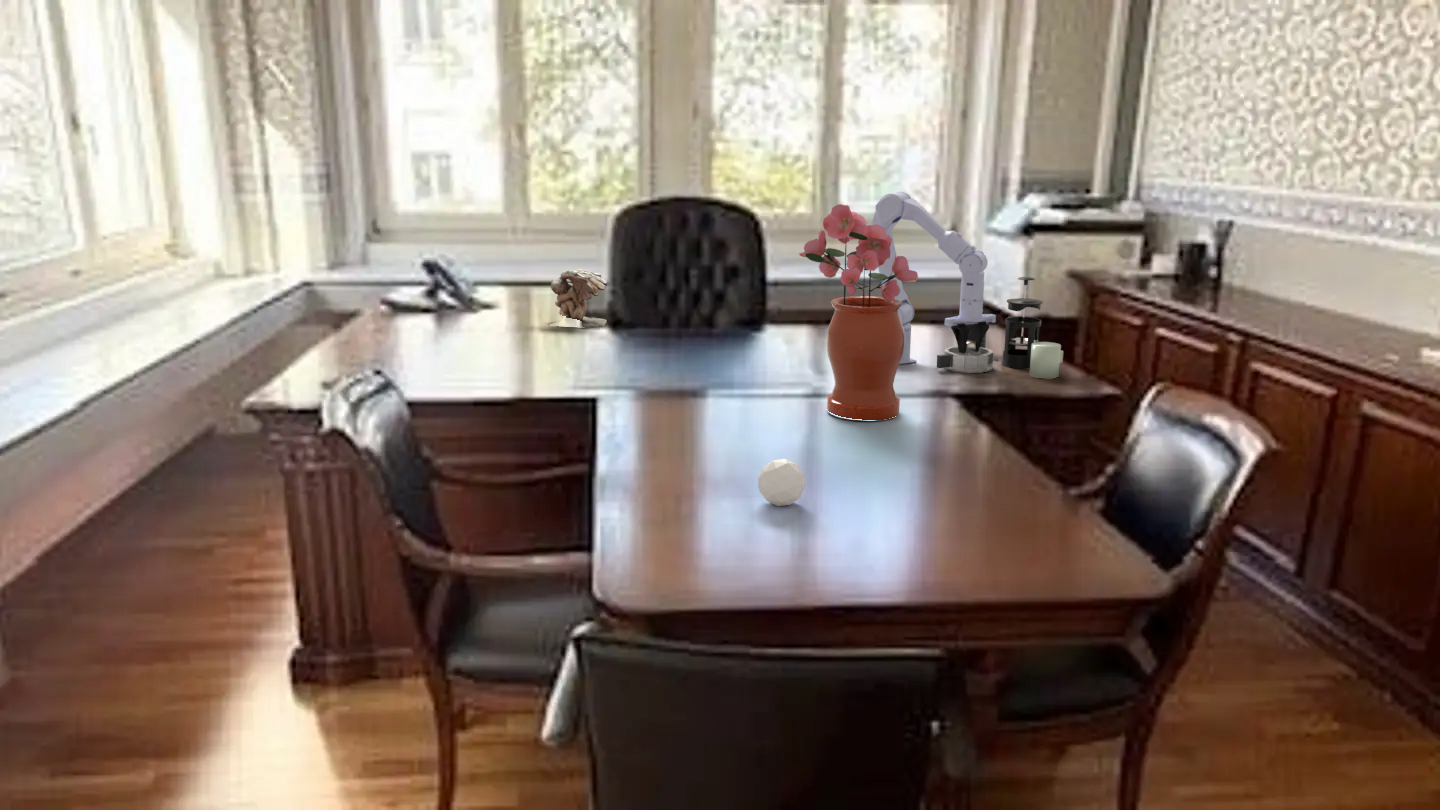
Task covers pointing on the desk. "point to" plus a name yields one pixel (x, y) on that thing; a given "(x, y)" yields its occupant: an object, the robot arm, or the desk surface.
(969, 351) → the plunger
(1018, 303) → the french press
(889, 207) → the robot arm
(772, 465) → the geometric ball
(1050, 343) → the sage mug
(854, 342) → the potted flower
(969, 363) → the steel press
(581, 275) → the cherub figurine
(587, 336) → the desk surface
